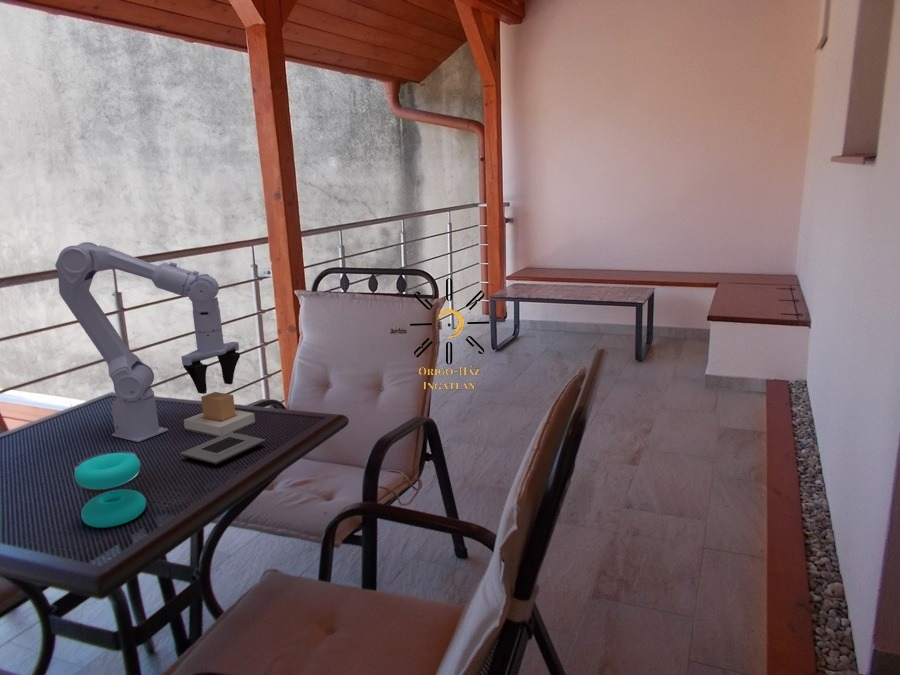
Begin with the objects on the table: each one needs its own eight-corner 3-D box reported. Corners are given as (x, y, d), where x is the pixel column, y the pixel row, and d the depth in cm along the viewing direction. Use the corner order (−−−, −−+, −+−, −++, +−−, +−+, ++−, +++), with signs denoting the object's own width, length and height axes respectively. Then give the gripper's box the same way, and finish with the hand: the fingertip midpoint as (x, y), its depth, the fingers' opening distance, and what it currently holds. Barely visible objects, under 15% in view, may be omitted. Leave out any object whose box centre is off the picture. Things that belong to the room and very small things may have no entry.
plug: (204, 425, 159) (201, 396, 157) (218, 420, 162) (214, 391, 161) (223, 429, 156) (219, 400, 154) (236, 423, 159) (233, 394, 158)
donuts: (88, 479, 108) (62, 464, 115) (98, 537, 111) (72, 519, 117) (150, 458, 116) (122, 445, 122) (158, 513, 118) (130, 497, 124)
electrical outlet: (231, 440, 151) (230, 430, 151) (266, 448, 146) (265, 438, 146) (181, 462, 141) (179, 451, 140) (216, 471, 135) (215, 460, 135)
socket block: (185, 430, 158) (183, 419, 157) (219, 416, 166) (218, 406, 166) (221, 438, 152) (220, 427, 151) (255, 423, 160) (254, 413, 160)
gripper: (194, 338, 146) (202, 399, 149) (245, 324, 158) (251, 381, 161) (172, 335, 149) (180, 395, 152) (224, 322, 162) (230, 378, 165)
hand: (215, 388), depth 157 cm, fingers open, 7 cm apart
